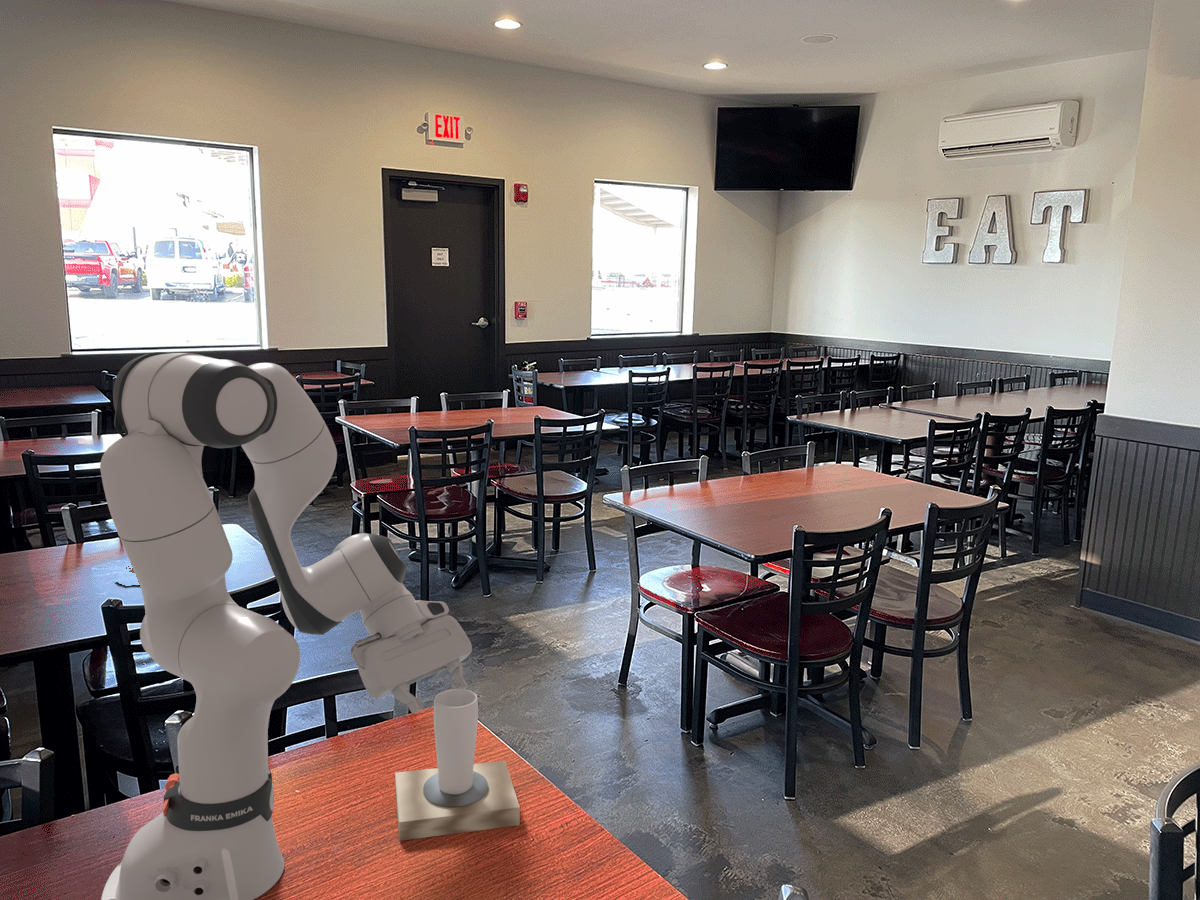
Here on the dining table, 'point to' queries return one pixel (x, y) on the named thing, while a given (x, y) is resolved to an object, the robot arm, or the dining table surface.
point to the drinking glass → (455, 738)
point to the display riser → (455, 803)
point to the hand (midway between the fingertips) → (441, 700)
